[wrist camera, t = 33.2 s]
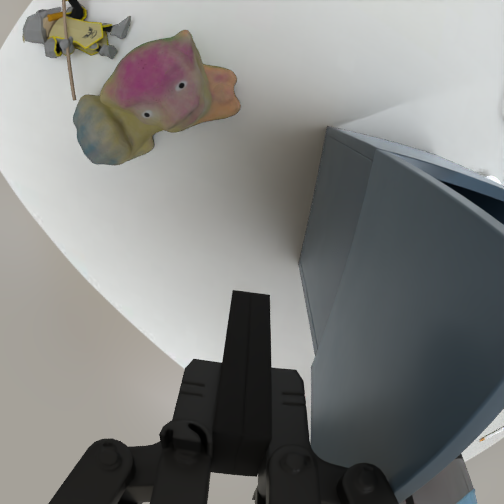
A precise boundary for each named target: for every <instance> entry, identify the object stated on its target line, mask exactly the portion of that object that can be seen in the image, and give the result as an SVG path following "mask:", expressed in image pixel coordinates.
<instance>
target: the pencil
mask: <svg viewBox="0 0 504 504" xmlns="http://www.w3.org/2000/svg"><path fill="white" fill-rule="evenodd" d="M502 430H504V427H503V428H501V429H499V430H497V431H495V432H493V433H492V434H490V435H488V436H486V437H484V438H483V439H481V440H480V441H483V440H486V439H487V438H489V437H491V436H493V435H495V434H497V433H499V432H500V431H502ZM480 441H479V442H480Z"/></svg>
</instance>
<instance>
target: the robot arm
mask: <svg viewBox="0 0 504 504" xmlns="http://www.w3.org/2000/svg"><path fill="white" fill-rule="evenodd" d="M304 395H305V391H304V382H303V380H302V378H301V377H300V375H299V373H298V372H297V370H292V369H280V368H271V329H270V295H266V294H258V293H251V292H243V291H235V290H233V293H232V300H231V306H230V313H229V320H228V327H227V334H226V341H225V348H224V355H223V362H222V363H219V362H212V361H205V360H199V359H193V360H192V361H191V362H190V364H189V365H188V366H187V367H186V368H185V371H184V375H183V379H182V383H181V387H180V391H179V395H178V399H177V403H176V407H175V411H174V415H173V419H172V421H170V422H169V423H167V424H166V425H165V426H164V427H163V428H162V430H161V432H160V434H159V435H160V440H161V441H160V442H158V443H156V444H153V445H148V446H136V447H127V446H126V445H125V444H123V443H122V442H121V441H118V440H114V439H101V440H99V441H96V442H94V443H93V444H92V445H91V446H90V447H89V448H88V449H87V451H86V452H85V454H84V455H83V456H82V458H81V459H80V461H79V462H78V463H77V464H76V466H75V467H74V469H73V470H72V472H71V473H70V474H69V476H68V477H67V478H66V480H65V481H64V483H63V484H62V485H61V487H60V488H59V490H58V491H57V492H56V494H55V495H54V497H53V498H52V499H51V501H50V502H49V504H142V503H143V502H150V504H207V500H208V491H209V481H210V473H211V472H214V473H223V474H232V475H243V476H257V474H258V486H257V488H256V490H255V492H254V495H253V498H252V500H255V504H399V503H398V501H397V499H396V497H395V495H394V493H393V491H392V489H391V487H390V485H389V482H388V480H387V478H386V476H385V475H384V473H383V472H382V471H381V469H380V468H378V467H376V466H375V465H373V464H369V463H357V464H355V465H353V466H351V467H350V468H347V467H343V466H339V465H335V464H331V463H328V462H326V461H324V460H322V459H321V458H319V457H318V456H317V455H316V454H315V453H314V451H313V450H312V448H311V445H310V441H309V430H308V420H307V410H306V401H305V396H304ZM400 504H477V500H476V496H475V489H474V488H473V485H472V482H471V479H470V476H469V474H468V471H467V468H466V465H465V462H464V460H463V457H462V454H460V455H459V456H458V457H456V458H455V459H454V460H453V461H452V462H451V463H450V464H449V465H448V466H447V467H445V468H444V469H443V470H442V471H441V472H440V473H438V474H437V475H436V476H435V477H434V478H432V479H431V480H430V481H429V482H427V483H426V484H425V485H424V486H422V487H421V488H420V489H419V490H417V491H416V492H415V493H413V494H412V495H411V496H409V497H408V498H407V499H405V500H404V501H402V502H401V503H400Z"/></svg>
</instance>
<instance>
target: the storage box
mask: <svg viewBox="0 0 504 504" xmlns="http://www.w3.org/2000/svg"><path fill="white" fill-rule="evenodd" d="M376 149H380V150H384V151H387V152H390V153H392V154H394V155H396V156H397V157H399V158H401V159H403V160H405V161H406V162H408V163H410V164H412V165H413V166H415V167H417V168H419V169H420V170H422V171H424V172H425V173H427V174H429V175H430V176H432V177H434V178H435V179H437V180H439V181H440V182H442V183H443V184H445V185H447V186H448V187H450V188H451V189H453V190H454V191H456V192H457V193H459V194H461V195H462V196H464V197H465V198H467V199H468V200H469V201H471V202H472V203H474V204H475V205H477V206H478V207H480V208H481V209H482V210H484V211H485V212H487V213H488V214H489V215H491V216H492V217H494V218H495V219H496V220H498V221H499V222H500V223H502V224H503V225H504V186H502V185H500V184H498V183H496V182H494V181H492V180H490V179H488V178H486V177H484V176H482V175H480V174H478V173H476V172H474V171H472V170H469V169H467V168H465V167H463V166H461V165H458V164H456V163H454V162H452V161H449V160H447V159H445V158H442V157H440V156H437V155H435V154H431V153H428V152H425V151H422V150H419V149H416V148H412V147H409V146H405V145H402V144H399V143H395V142H391V141H388V140H384V139H380V138H376V137H373V136H369V135H365V134H361V133H356V132H352V131H348V130H343V129H339V128H334V127H330V126H327V129H326V135H325V140H324V146H323V151H322V156H321V161H320V166H319V171H318V176H317V181H316V186H315V191H314V196H313V201H312V206H311V210H310V215H309V220H308V224H307V229H306V233H305V238H304V242H303V247H302V251H301V255H300V260H299V264H298V265H299V270H300V275H301V280H302V286H303V291H304V296H305V302H306V307H307V313H308V318H309V324H310V330H311V335H312V341H313V347H314V353H315V356H316V353H317V350H318V347H319V345H320V342H321V339H322V336H323V333H324V331H325V328H326V325H327V322H328V319H329V316H330V313H331V310H332V307H333V304H334V301H335V298H336V295H337V292H338V289H339V286H340V282H341V279H342V276H343V273H344V269H345V266H346V263H347V259H348V256H349V253H350V249H351V246H352V242H353V239H354V235H355V231H356V228H357V224H358V220H359V217H360V213H361V209H362V205H363V201H364V197H365V193H366V189H367V185H368V181H369V177H370V172H371V168H372V164H373V159H374V155H375V150H376Z"/></svg>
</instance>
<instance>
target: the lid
mask: <svg viewBox="0 0 504 504" xmlns="http://www.w3.org/2000/svg"><path fill="white" fill-rule="evenodd" d="M503 409H504V225H503V224H502V223H500V222H499V221H498V220H496V219H495V218H494V217H492V216H491V215H489V214H488V213H487V212H485V211H484V210H482V209H481V208H480V207H478V206H477V205H475V204H474V203H472V202H471V201H469V200H468V199H467V198H465V197H464V196H462V195H461V194H459V193H457V192H456V191H454V190H453V189H451V188H450V187H448V186H447V185H445V184H443V183H442V182H440V181H439V180H437V179H435V178H434V177H432V176H430V175H429V174H427V173H425V172H424V171H422V170H420V169H419V168H417V167H415V166H413V165H412V164H410V163H408V162H406V161H405V160H403V159H401V158H399V157H397V156H396V155H394V154H392V153H390V152H387V151H384V150H380V149H376V150H375V155H374V159H373V164H372V168H371V172H370V177H369V181H368V185H367V189H366V193H365V197H364V201H363V205H362V209H361V213H360V217H359V220H358V224H357V228H356V231H355V235H354V239H353V242H352V246H351V249H350V253H349V256H348V259H347V263H346V266H345V269H344V273H343V276H342V279H341V282H340V286H339V289H338V292H337V295H336V298H335V301H334V304H333V307H332V310H331V313H330V316H329V319H328V322H327V325H326V328H325V331H324V333H323V336H322V339H321V342H320V345H319V347H318V350H317V353H316V356H315V358H314V361H313V364H312V366H311V448H312V450H313V451H314V453H315V454H316V455H317V456H318V457H319V458H321V459H322V460H324V461H326V462H328V463H331V464H335V465H339V466H343V467H347V468H350V467H351V466H353V465H355V464H357V463H369V464H373V465H375V466H376V467H378V468H380V469H381V471H382V472H383V473H384V475H385V476H386V478H387V480H388V482H389V485H390V487H391V489H392V491H393V493H394V495H395V497H396V499H397V501H398V503H399V504H400V503H401V502H402V501H404V500H405V499H407V498H408V497H409V496H411V495H412V494H413V493H415V492H416V491H417V490H419V489H420V488H421V487H422V486H424V485H425V484H426V483H427V482H429V481H430V480H431V479H432V478H434V477H435V476H436V475H437V474H438V473H440V472H441V471H442V470H443V469H444V468H445V467H447V466H448V465H449V464H450V463H451V462H452V461H453V460H454V459H455V458H456V457H458V456H459V455H460V454H461V453H462V452H463V451H464V450H465V449H466V448H467V447H468V446H469V445H470V444H471V443H472V442H473V441H474V440H475V439H476V438H477V437H478V436H479V435H480V434H481V433H482V432H483V431H484V430H485V429H486V428H487V427H488V425H489V424H490V423H491V422H492V421H493V420H494V419H495V418H496V417H497V415H498V414H499V413H500V412H501V411H502V410H503Z"/></svg>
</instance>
